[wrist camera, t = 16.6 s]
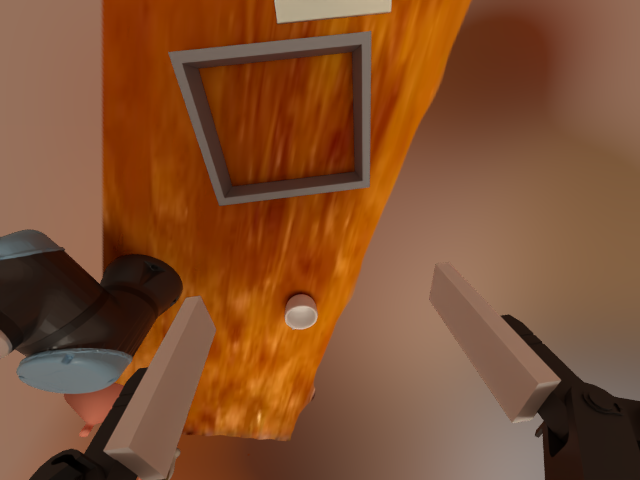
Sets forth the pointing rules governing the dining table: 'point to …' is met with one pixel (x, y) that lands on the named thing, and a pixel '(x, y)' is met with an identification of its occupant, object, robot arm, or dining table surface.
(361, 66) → the access frame
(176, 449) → the ceramic sculpture
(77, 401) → the ceramic vessels
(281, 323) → the dining table surface
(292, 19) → the board
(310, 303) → the teacup
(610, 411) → the robot arm
